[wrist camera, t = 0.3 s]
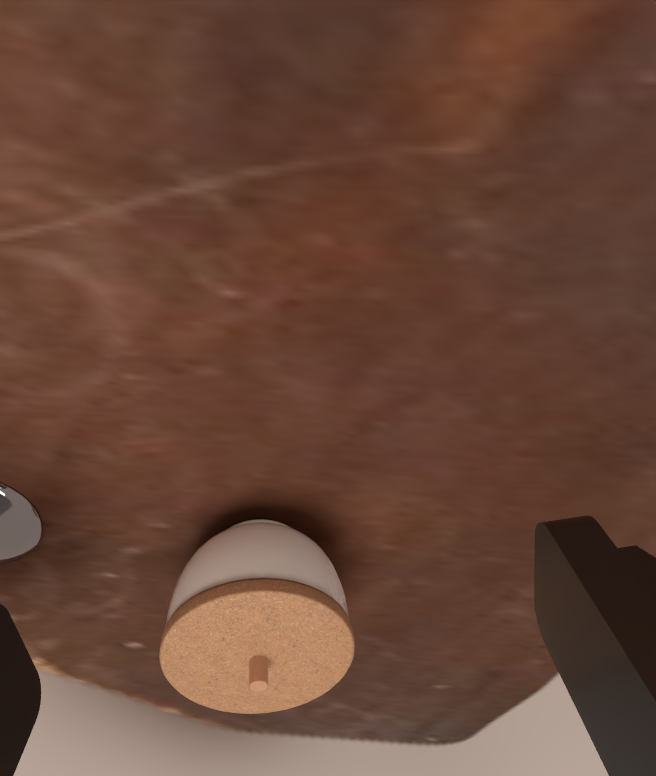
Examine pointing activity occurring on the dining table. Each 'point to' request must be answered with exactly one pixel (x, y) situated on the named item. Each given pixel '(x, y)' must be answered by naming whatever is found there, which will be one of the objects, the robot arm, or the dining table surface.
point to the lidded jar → (257, 622)
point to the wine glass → (17, 525)
